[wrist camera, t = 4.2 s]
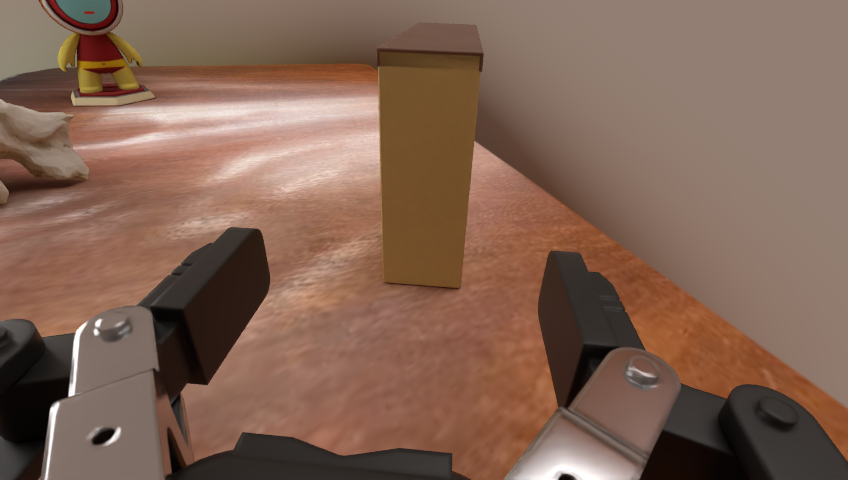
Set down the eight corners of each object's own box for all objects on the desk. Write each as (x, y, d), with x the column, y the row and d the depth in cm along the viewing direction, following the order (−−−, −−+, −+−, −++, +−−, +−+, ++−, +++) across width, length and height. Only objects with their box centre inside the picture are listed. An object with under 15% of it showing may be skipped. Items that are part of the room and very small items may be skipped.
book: (461, 289, 22) (483, 52, 16) (381, 282, 22) (376, 47, 16) (464, 173, 35) (476, 24, 30) (415, 170, 36) (418, 22, 30)
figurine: (75, 110, 49) (14, -49, 41) (69, 94, 55) (17, -45, 48) (159, 101, 53) (119, -42, 46) (145, 87, 60) (108, -40, 52)
